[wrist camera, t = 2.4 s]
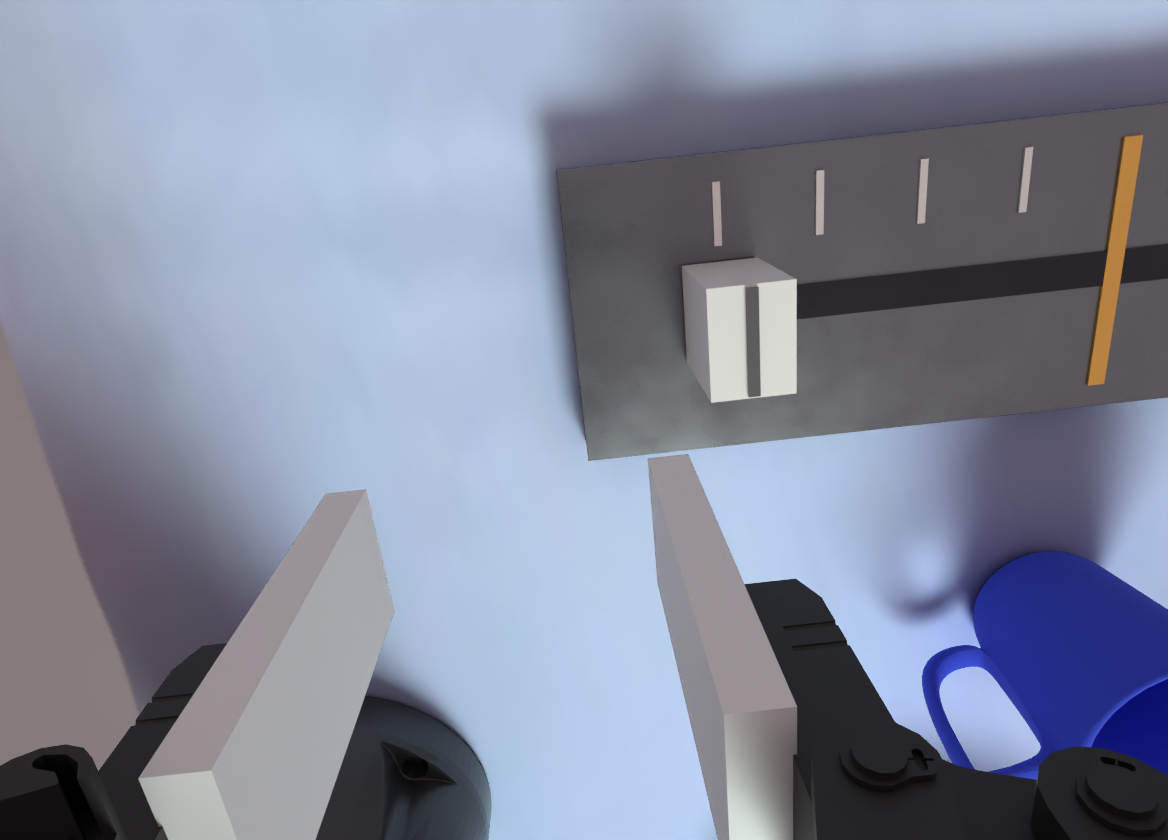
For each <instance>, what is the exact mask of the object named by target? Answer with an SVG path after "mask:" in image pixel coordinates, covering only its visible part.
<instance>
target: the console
mask: <svg viewBox="0 0 1168 840" xmlns="http://www.w3.org/2000/svg"><path fill="white" fill-rule="evenodd" d="M556 173H557V182H558V191H559V200H560V209H561V218H562V227H563V236H564V245H565V254H566V263H567V272H568V281H569V290H570V299H571V308H572V317H573V326H574V335H575V345H576V354H577V363H578V372H579V381H580V390H581V399H582V408H583V417H584V426H585V435H586V444H587V453H588V461H592V460H601V459H610V458H619V457H628V456H637V455H646V454H655V453H665V452H674V451H683V450H692V449H701V448H710V447H719V446H728V445H737V444H747V443H756V442H765V441H774V440H783V439H792V438H801V437H810V436H819V435H829V434H838V433H847V432H856V431H865V430H874V429H883V428H892V427H901V426H911V425H920V424H929V423H938V422H947V421H956V420H965V419H974V418H984V417H993V416H1002V415H1011V414H1020V413H1029V412H1038V411H1047V410H1056V409H1066V408H1075V407H1084V406H1093V405H1102V404H1111V403H1120V402H1129V401H1138V400H1148V399H1157V398H1166V397H1168V102H1167V103H1158V104H1149V105H1140V106H1131V107H1122V108H1113V109H1104V110H1095V111H1086V112H1077V113H1068V114H1059V115H1050V116H1041V117H1032V118H1023V119H1013V120H1004V121H995V122H986V123H977V124H968V125H959V126H950V127H941V128H932V129H923V130H914V131H905V132H896V133H887V134H878V135H868V136H859V137H850V138H841V139H832V140H823V141H814V142H805V143H796V144H787V145H778V146H769V147H760V148H751V149H742V150H733V151H724V152H714V153H705V154H696V155H687V156H678V157H669V158H660V159H651V160H642V161H633V162H624V163H615V164H606V165H597V166H588V167H579V168H570V169H560V170H556ZM748 258H759V259H761V260H763V261H765V262H766V263H768V264H770V265H772V266H774V267H776V268H777V269H779V270H781V271H783V272H785V273H786V274H788V275H790V276H792V277H794V278H795V279H797V393H796V394H787V395H778V396H768V397H759V398H750V399H741V400H732V401H723V402H714V403H711V402H710V400H709V398H708V397H707V395H706V393H705V392H704V390H703V388H702V387H701V385H700V384H699V382H698V380H697V379H696V377H695V375H694V374H693V372H692V370H691V369H690V367H689V365H688V364H687V354H686V336H685V318H684V300H683V281H682V266H684V265H693V264H703V263H712V262H721V261H730V260H739V259H748Z"/></svg>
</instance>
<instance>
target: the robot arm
mask: <svg viewBox="0 0 1168 840" xmlns="http://www.w3.org/2000/svg"><path fill="white" fill-rule="evenodd" d="M648 467H649V480H650V492H651V505H652V518H653V531H654V543H655V556H656V569H657V582H658V587H659V591H660V595H661V599H662V604H663V608H664V612H665V616H666V621H667V625H668V629H669V633H670V638H671V642H672V646H673V650H674V655H675V659H676V663H677V667H678V672H679V676H680V680H681V685H682V689H683V693H684V697H685V702H686V706H687V710H688V714H689V719H690V723H691V727H692V731H693V736H694V740H695V744H696V748H697V753H698V757H699V761H700V765H701V770H702V774H703V778H704V782H705V787H706V791H707V795H708V800H709V804H710V808H711V812H712V817H713V821H714V825H715V829H716V834H717V838H718V840H1168V776H1167V775H1166V774H1165V773H1163V772H1161V771H1159V770H1157V769H1155V768H1153V767H1151V766H1149V765H1147V764H1146V763H1144V762H1142V761H1140V760H1138V759H1136V758H1134V757H1131V756H1128V755H1124V754H1121V753H1117V752H1114V751H1111V750H1107V749H1104V748H1093V747H1076V746H1074V747H1070V748H1066V749H1062V750H1059V751H1055V752H1052V753H1051V754H1050V755H1049V756H1048V757H1047V758H1046V759H1045V760H1044V761H1043V762H1042V763H1041V764H1040V765H1039V769H1038V775H1037V780H1035V779H1029V778H1022V777H1016V776H1009V775H1003V774H996V773H990V772H983V771H978V770H974V769H970V768H965V767H961V766H957V765H955V764H952V763H950V762H947V761H945V760H942V758H941V756H940V755H939V753H938V751H937V750H936V749H935V748H934V747H932V746H931V745H930V744H929V743H928V742H927V741H926V740H925V739H924V738H922V737H921V736H920V735H919V734H917V733H915V732H913V731H911V730H909V729H907V728H905V727H903V726H901V725H899V724H897V723H895V721H894V720H893V718H892V716H891V715H890V713H889V711H888V710H887V708H886V706H885V704H884V703H883V701H882V699H881V698H880V696H879V694H878V693H877V691H876V689H875V687H874V686H873V684H872V682H871V681H870V679H869V677H868V676H867V674H866V672H865V671H864V669H863V667H862V665H861V664H860V662H859V660H858V659H857V657H856V655H855V654H854V652H853V650H852V648H851V647H850V645H847V640H846V638H845V637H844V635H843V633H842V632H841V630H840V628H839V626H838V625H836V624H835V620H834V618H833V616H832V615H831V613H830V611H829V609H828V608H827V606H826V604H825V603H824V601H823V599H822V598H821V597H820V596H819V595H817V594H816V593H815V592H813V591H812V590H811V589H809V588H808V587H806V586H805V585H804V584H802V583H801V582H800V581H798V580H797V579H789V580H780V581H771V582H762V583H752V584H744V583H743V580H742V578H741V576H740V573H739V571H738V569H737V566H736V564H735V562H734V559H733V557H732V555H731V552H730V550H729V548H728V545H727V543H726V541H725V538H724V536H723V534H722V532H721V529H720V527H719V525H718V522H717V520H716V518H715V515H714V513H713V511H712V508H711V506H710V504H709V501H708V499H707V497H706V494H705V492H704V490H703V488H702V485H701V483H700V481H699V478H698V476H697V474H696V471H695V469H694V467H693V464H692V462H691V460H690V457H689V455H688V454H685V455H676V456H667V457H658V458H649V459H648ZM393 614H394V608H393V604H392V599H391V595H390V591H389V586H388V582H387V578H386V573H385V569H384V565H383V560H382V556H381V552H380V548H379V543H378V539H377V535H376V530H375V526H374V522H373V517H372V513H371V509H370V505H369V500H368V496H367V492H366V490H357V491H347V492H338V493H329V494H325V496H324V497H323V499H322V500H321V502H320V503H319V505H318V506H317V508H316V509H315V511H314V513H313V514H312V516H311V517H310V519H309V520H308V522H307V523H306V525H305V526H304V528H303V529H302V531H301V532H300V534H299V535H298V537H297V538H296V540H295V541H294V543H293V544H292V546H291V547H290V549H289V550H288V552H287V553H286V555H285V557H284V558H283V560H282V561H281V563H280V564H279V566H278V567H277V569H276V570H275V572H274V573H273V575H272V576H271V578H270V579H269V581H268V582H267V584H266V585H265V587H264V588H263V590H262V591H261V593H260V594H259V596H258V598H257V599H256V601H255V602H254V604H253V605H252V607H251V608H250V610H249V611H248V613H247V614H246V616H245V617H244V619H243V620H242V622H241V623H240V625H239V626H238V628H237V629H236V631H235V632H234V634H233V635H232V637H231V638H230V640H229V642H228V643H225V644H216V645H206V646H202V647H201V648H199V649H198V650H197V651H196V652H194V653H193V654H192V655H191V656H189V657H188V658H187V659H186V660H184V661H183V662H182V663H181V664H180V665H178V666H177V667H176V668H175V669H173V670H172V671H171V673H170V674H169V675H168V677H167V678H166V679H165V681H164V682H163V684H162V685H161V686H160V688H159V689H158V690H157V692H156V693H155V694H154V696H153V697H152V703H148V704H147V705H146V707H145V708H144V710H143V711H142V712H141V714H140V715H139V716H138V718H137V719H136V725H135V726H131V727H130V729H129V730H128V731H127V733H126V734H125V736H124V737H123V738H122V740H121V741H120V742H119V744H118V745H117V747H116V748H115V749H114V751H113V752H112V754H111V755H110V756H109V758H108V759H107V760H106V762H105V763H104V764H103V766H102V767H101V769H100V770H99V771H98V770H97V768H96V766H95V763H94V761H93V759H92V757H91V756H90V755H89V754H88V753H87V751H86V750H85V749H84V748H81V747H76V746H70V745H59V746H53V747H47V748H41V749H38V750H35V751H33V752H30V753H27V754H25V755H22V756H19V757H17V758H14V759H12V760H10V761H8V762H6V763H5V764H3V765H1V766H0V840H488V838H489V828H490V818H491V794H490V788H489V784H488V781H487V778H486V775H485V773H484V770H483V768H482V766H481V765H480V763H479V761H478V759H477V758H476V756H475V755H474V754H473V752H472V751H471V750H470V749H469V747H468V746H467V745H466V744H465V743H464V742H463V741H462V740H461V739H460V738H459V737H458V736H457V735H456V734H455V733H453V732H452V731H451V730H450V729H448V728H447V727H446V726H444V725H443V724H441V723H440V722H438V721H437V720H435V719H433V718H431V717H430V716H428V715H426V714H424V713H422V712H420V711H417V710H415V709H412V708H410V707H407V706H404V705H401V704H398V703H395V702H391V701H387V700H383V699H378V698H372V697H365V695H366V692H367V689H368V686H369V683H370V680H371V678H372V675H373V672H374V669H375V666H376V663H377V660H378V657H379V654H380V651H381V649H382V646H383V643H384V640H385V637H386V634H387V631H388V628H389V625H390V623H391V620H392V617H393Z"/></svg>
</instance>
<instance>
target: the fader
mask: <svg viewBox="0 0 1168 840" xmlns="http://www.w3.org/2000/svg"><path fill="white" fill-rule="evenodd" d="M682 281H683V300H684V318H685V336H686V354H687V364H688V365H689V367H690V369H691V370H692V372H693V374H694V375H695V377H696V379H697V380H698V382H699V384H700V385H701V387H702V388H703V390H704V392H705V393H706V395H707V397H708V398H709V400H710V402H711V403H714V402H723V401H732V400H741V399H750V398H759V397H768V396H778V395H787V394H796V393H797V279H795V278H794V277H792V276H790V275H788V274H786V273H785V272H783V271H781V270H779V269H777V268H776V267H774V266H772V265H770V264H768V263H766V262H765V261H763V260H761V259H759V258H748V259H739V260H730V261H721V262H712V263H703V264H693V265H684V266H682Z"/></svg>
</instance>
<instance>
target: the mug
mask: <svg viewBox="0 0 1168 840" xmlns="http://www.w3.org/2000/svg"><path fill="white" fill-rule="evenodd" d="M973 622H974V629H975V633H976V636H977V639H978V642H979V644H980V646H981V648H977V647H975V646H970V645H962V646H955V647H951V648H948V649H945V650H942V651H940V652H938V653H937V654H935V655H934V656H932V657H931V658H930V660H929V661H928V662H927V664H926V666H925V667H924V670H923V675H922V687H923V692H924V697H925V701H926V704H927V707H928V710H929V714H930V716H931V719H932V721H933V724H934V726H935V728H936V731H937V733H938V735H939V737H940V739H941V741H942V743H943V745H944V747H945V750H946V752H947V754H948V756H949V758H950V760H951V761H952V763H953V764H955V765H957V766H961V767H965V768H970V769H974V767H973V766H972V764H971V763H970V761H969V759H968V757H967V755H966V754H965V752H964V750H963V748H962V746H961V745H960V743H959V741H958V739H957V737H956V735H955V733H954V731H953V730H952V728H951V726H950V724H949V722H948V719H947V717H946V715H945V712H944V710H943V707H942V704H941V700H940V695H939V688H940V684H941V682H942V681H943V679H944V678H945V677H946V676H947V675H948V674H950V673H951V672H953V671H955V670H958V669H961V668H965V667H981V668H984V669H985V670H987V671H988V672H989V673H990V674H991V675H992V676H993V677H994V679H995V680H996V681H997V682H998V684H999V685H1000V686H1001V688H1002V689H1003V690H1004V692H1005V693H1006V695H1007V696H1008V697H1009V699H1010V700H1011V701H1012V703H1013V704H1014V705H1015V707H1016V708H1017V710H1018V711H1019V712H1020V714H1021V715H1022V717H1023V718H1024V719H1025V721H1026V722H1027V724H1028V725H1029V727H1030V729H1031V730H1032V732H1033V733H1034V735H1035V736H1036V738H1037V740H1038V741H1039V743H1040V745H1041V749H1040V751H1039V753H1038V754H1037V755H1036V756H1034V757H1032V758H1031V759H1028V760H1026V761H1023V762H1021V763H1018V764H1015V765H1013V766H1010V767H1006V768H1002V769H998V770H994V771H990V773H996V774H1003V775H1009V776H1016V777H1022V778H1029V779H1035V780H1037V775H1038V769H1039V765H1040V764H1041V763H1042V762H1043V761H1044V760H1045V759H1046V758H1047V757H1048V756H1049V755H1050V754H1051V753H1052V752H1055V751H1059V750H1062V749H1066V748H1070V747H1074V746H1076V747H1093V748H1104V749H1107V750H1111V751H1114V752H1117V753H1121V754H1124V755H1128V756H1131V757H1134V758H1136V759H1138V760H1140V761H1142V762H1144V763H1146V764H1147V765H1149V766H1151V767H1153V768H1155V769H1157V770H1159V771H1161V772H1163V773H1165V774H1166V775H1167V776H1168V609H1166V608H1165V607H1163V606H1161V605H1160V604H1158V603H1157V602H1155V601H1154V600H1152V599H1150V598H1149V597H1147V596H1146V595H1144V594H1143V593H1141V592H1140V591H1138V590H1136V589H1135V588H1133V587H1132V586H1130V585H1129V584H1127V583H1126V582H1124V581H1122V580H1121V579H1119V578H1118V577H1116V576H1115V575H1113V574H1112V573H1110V572H1108V571H1107V570H1105V569H1104V568H1102V567H1100V566H1099V565H1097V564H1095V563H1093V562H1092V561H1089V560H1087V559H1085V558H1082V557H1080V556H1077V555H1073V554H1070V553H1065V552H1056V551H1046V552H1037V553H1033V554H1029V555H1025V556H1022V557H1020V558H1018V559H1015V560H1013V561H1011V562H1009V563H1008V564H1006V565H1005V566H1003V567H1001V568H1000V569H999V570H998V571H997V572H995V573H994V574H993V575H992V576H991V577H990V578H989V579H988V581H987V582H986V583H985V584H984V586H983V587H982V589H981V591H980V592H979V594H978V597H977V599H976V602H975V605H974V611H973ZM974 770H975V769H974Z"/></svg>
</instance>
